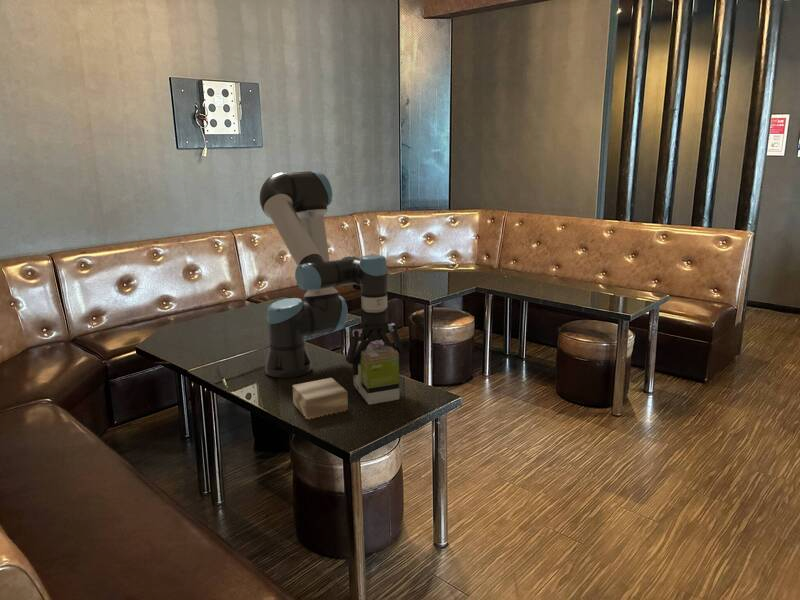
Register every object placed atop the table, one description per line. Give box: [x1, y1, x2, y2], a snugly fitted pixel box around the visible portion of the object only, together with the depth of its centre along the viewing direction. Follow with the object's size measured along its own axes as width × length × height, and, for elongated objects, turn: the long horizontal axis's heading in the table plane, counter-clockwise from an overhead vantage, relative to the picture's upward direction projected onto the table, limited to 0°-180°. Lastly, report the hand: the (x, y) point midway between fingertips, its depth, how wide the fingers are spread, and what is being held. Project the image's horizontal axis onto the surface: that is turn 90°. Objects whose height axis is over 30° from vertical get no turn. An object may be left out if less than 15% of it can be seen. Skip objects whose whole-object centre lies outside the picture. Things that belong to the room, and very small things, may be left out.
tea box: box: [353, 340, 400, 405], centre depth 178 cm, size 15×10×15 cm, turn 21°
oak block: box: [292, 377, 349, 420], centre depth 170 cm, size 12×12×6 cm
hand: (375, 381), depth 179 cm, fingers closed on tea box, 10 cm apart
